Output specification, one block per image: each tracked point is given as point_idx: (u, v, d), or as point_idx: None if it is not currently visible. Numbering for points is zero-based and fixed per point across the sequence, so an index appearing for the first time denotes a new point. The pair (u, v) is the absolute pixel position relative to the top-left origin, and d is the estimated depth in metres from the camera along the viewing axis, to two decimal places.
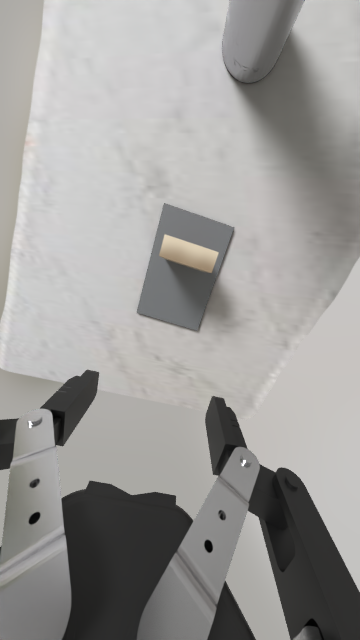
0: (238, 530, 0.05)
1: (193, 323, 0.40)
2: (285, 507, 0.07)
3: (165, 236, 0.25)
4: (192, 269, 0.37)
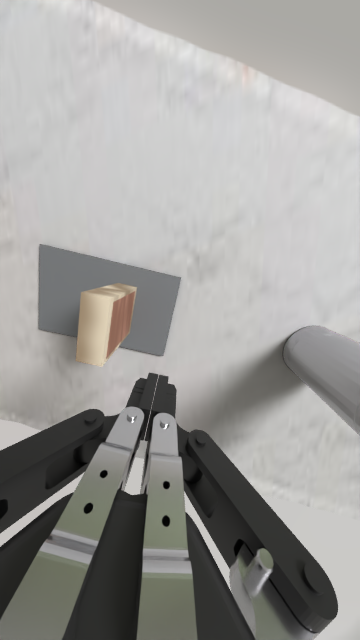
0: (181, 484, 0.06)
1: (46, 323, 0.31)
2: (202, 467, 0.08)
3: (107, 300, 0.18)
4: None
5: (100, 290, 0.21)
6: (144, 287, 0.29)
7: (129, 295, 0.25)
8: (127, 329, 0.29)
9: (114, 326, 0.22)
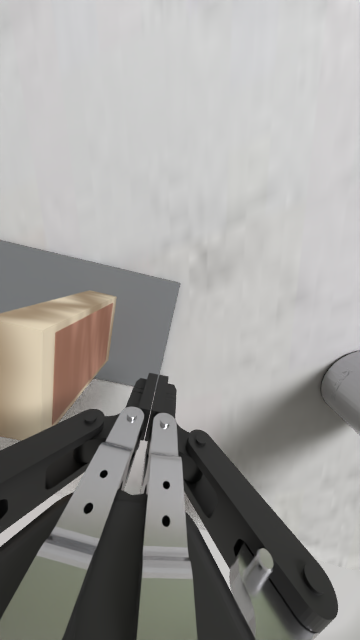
0: (181, 484, 0.06)
1: None
2: (202, 467, 0.08)
3: (37, 332, 0.10)
4: None
5: (39, 308, 0.12)
6: (127, 296, 0.20)
7: (100, 311, 0.16)
8: (102, 358, 0.20)
9: (66, 369, 0.13)
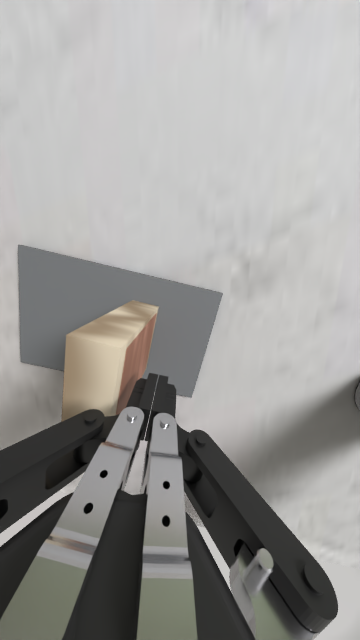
0: (181, 484, 0.06)
1: (31, 354, 0.22)
2: (202, 467, 0.08)
3: (116, 350, 0.10)
4: None
5: (104, 323, 0.12)
6: (170, 306, 0.20)
7: (149, 323, 0.16)
8: (144, 367, 0.20)
9: (126, 382, 0.13)
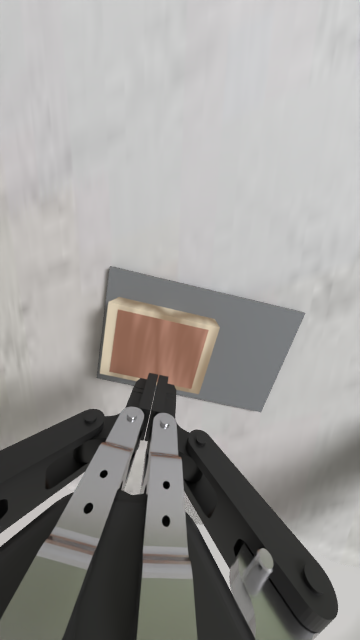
0: (181, 485, 0.06)
1: None
2: (202, 467, 0.08)
3: None
4: None
5: (142, 303, 0.20)
6: (251, 324, 0.21)
7: (177, 325, 0.18)
8: (183, 379, 0.19)
9: (126, 343, 0.18)
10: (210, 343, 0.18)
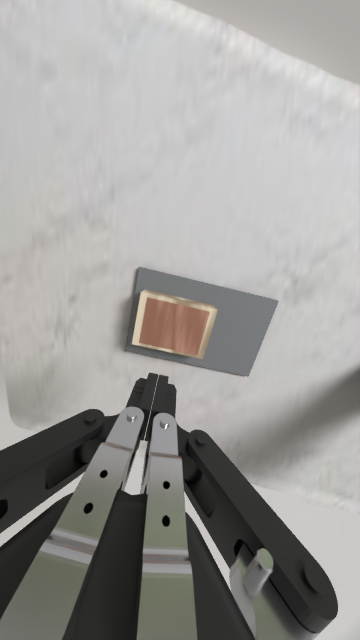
0: (181, 484, 0.06)
1: (134, 345, 0.30)
2: (202, 467, 0.08)
3: None
4: None
5: (162, 294, 0.27)
6: (240, 309, 0.29)
7: (188, 308, 0.25)
8: (191, 348, 0.27)
9: (152, 321, 0.26)
10: (211, 321, 0.26)
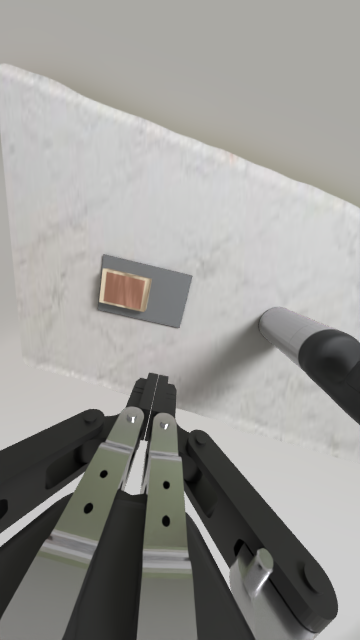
0: (181, 484, 0.06)
1: (103, 305, 0.47)
2: (202, 467, 0.08)
3: (103, 269, 0.42)
4: None
5: (118, 271, 0.44)
6: (169, 281, 0.45)
7: (132, 278, 0.42)
8: (136, 304, 0.44)
9: (110, 287, 0.43)
10: (146, 287, 0.43)
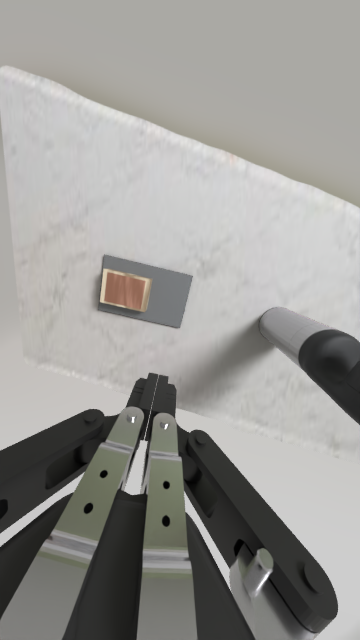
0: (181, 485, 0.06)
1: (104, 305, 0.47)
2: (202, 467, 0.08)
3: None
4: None
5: (118, 271, 0.44)
6: (169, 281, 0.45)
7: (132, 278, 0.42)
8: (136, 304, 0.44)
9: (111, 287, 0.43)
10: (147, 287, 0.43)
